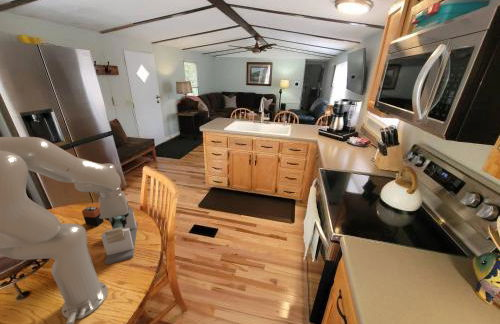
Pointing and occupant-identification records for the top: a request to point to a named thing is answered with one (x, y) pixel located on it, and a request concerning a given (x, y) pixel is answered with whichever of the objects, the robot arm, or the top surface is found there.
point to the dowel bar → (115, 232)
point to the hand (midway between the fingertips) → (119, 226)
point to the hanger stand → (122, 242)
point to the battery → (92, 216)
